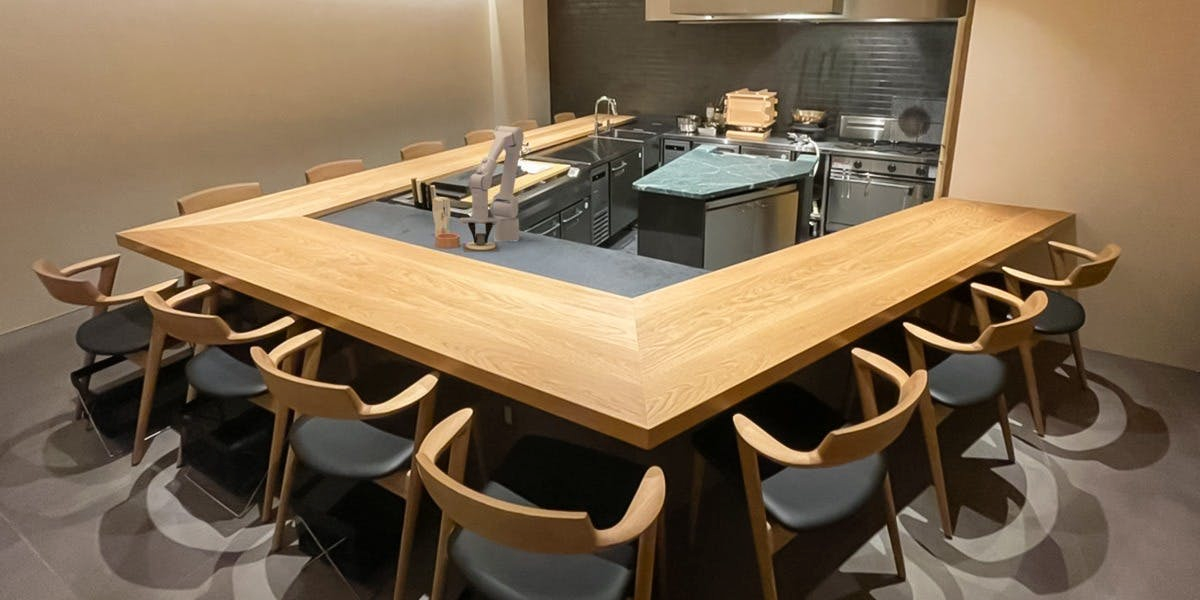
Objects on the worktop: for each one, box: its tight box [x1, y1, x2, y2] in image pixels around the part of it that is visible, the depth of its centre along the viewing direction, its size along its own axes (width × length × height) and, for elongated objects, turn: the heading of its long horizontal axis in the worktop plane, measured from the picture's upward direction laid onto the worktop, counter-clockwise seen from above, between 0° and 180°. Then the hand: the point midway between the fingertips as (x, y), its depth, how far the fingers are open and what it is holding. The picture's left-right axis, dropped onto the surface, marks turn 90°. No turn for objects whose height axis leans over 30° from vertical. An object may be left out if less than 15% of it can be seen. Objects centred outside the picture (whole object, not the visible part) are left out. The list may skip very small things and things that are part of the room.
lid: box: [466, 232, 496, 250], centre depth 251 cm, size 11×11×5 cm
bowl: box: [435, 232, 461, 249], centre depth 252 cm, size 9×9×4 cm
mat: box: [462, 242, 500, 253], centre depth 252 cm, size 13×13×1 cm
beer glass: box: [431, 196, 451, 237], centre depth 267 cm, size 7×7×15 cm
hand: (480, 242), depth 251 cm, fingers closed on lid, 4 cm apart
